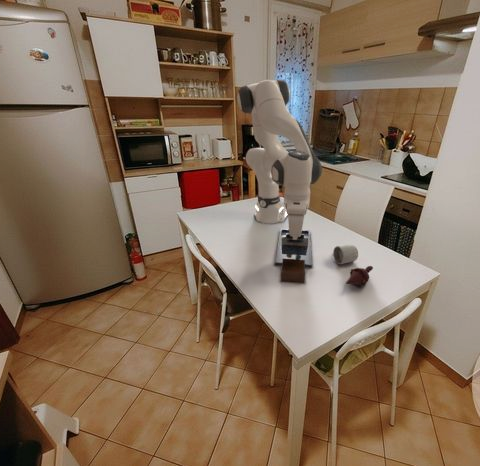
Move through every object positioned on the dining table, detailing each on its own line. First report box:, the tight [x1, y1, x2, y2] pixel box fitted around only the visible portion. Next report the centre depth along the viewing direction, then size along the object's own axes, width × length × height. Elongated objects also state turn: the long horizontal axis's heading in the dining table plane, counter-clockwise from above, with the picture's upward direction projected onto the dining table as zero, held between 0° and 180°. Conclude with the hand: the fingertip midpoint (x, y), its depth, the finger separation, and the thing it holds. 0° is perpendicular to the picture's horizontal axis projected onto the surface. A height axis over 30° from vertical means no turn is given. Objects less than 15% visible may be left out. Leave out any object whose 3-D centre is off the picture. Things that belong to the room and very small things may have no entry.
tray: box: [274, 228, 313, 269], centre depth 123 cm, size 31×15×2 cm, turn 174°
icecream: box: [346, 265, 374, 287], centre depth 98 cm, size 7×7×15 cm
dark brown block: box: [280, 259, 306, 284], centre depth 103 cm, size 9×9×5 cm
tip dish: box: [281, 234, 308, 255], centre depth 102 cm, size 15×10×3 cm
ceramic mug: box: [332, 244, 359, 265], centre depth 113 cm, size 11×8×8 cm
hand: (295, 236), depth 96 cm, fingers closed
